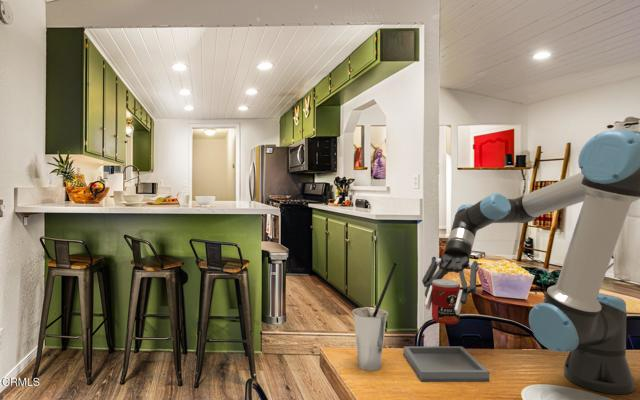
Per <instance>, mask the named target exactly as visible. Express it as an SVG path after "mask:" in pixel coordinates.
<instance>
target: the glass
mask: <svg viewBox="0 0 640 400" xmlns="http://www.w3.org/2000/svg"><path fill="white" fill-rule="evenodd" d="M397 265H398V264H397V263H395V262H393V264H392V267H391V270H390V272H389V274H388V277H387V279H386V282H385V284H384V287H383V290H382V291H381V295H380V297H379V299H378V302H377V304H376V307H369V306H368V307H357V308H354V309H353V310H352V312H351V313H352V314H353V320H354V332H355V342H356V343H355V344H356V355H357V367H358V368H359V369H360V368H361V370H363V371H366V370H367V371H366V372H374V371H375V372H376V371H379V370H380V369H381V368H382V359H383V358H382V357H383V347H384V342H385V334H386V333H385V331H386V323H387V316H388V315H389V311H387V310H385V309H382V308H381V305H382V303H383V301H384V297H385V295H386V293H387V290H388V287H389V286H390V283H391V280H392V277H393V275H394V273H395V270H396V268H397Z"/></svg>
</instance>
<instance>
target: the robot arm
mask: <svg viewBox="0 0 640 400" xmlns="http://www.w3.org/2000/svg"><path fill="white" fill-rule="evenodd" d="M579 152H580V153H579V155H578V168H579V169H580V172H578V173H576V174H574V175H571V176H569V177H566V178H564V179H561V180H559V181H556V182H553V183H551V184H549V185H546V186H544V187H540V188H538V189H536V190H533V191H531V192H528V193H526V194H524V195H521V196H519V197H515V198H507V197H506V196H505V195H503V194H502V193H499V192H496V193H492V194H490V195H487V196H485V197H483V198H482V199H481V200H479V201H478V202H477V203H475V204H470V203H467V204H462V205H460V206H459V207H458V209H457V211H456V212H455V215H454V219H453V223H452V225H451V230H450V232H449V236H448V238H447V243H446V245H445V249H444V253H443V255H442V256H441V257H440V258H437V257H436V256H432V257H431V263H430V265H429V266H428V269H427V270H426V273H425V275H424V276H423V278H422V281H421V282H422V284H423V287H425V288H426V289H425V291H424V296H425V298H426V299H425V301H424V306H425V308H426V310H428V311H430V310H431V307H432V281H433V280H437V279H443V278H444V277H445V275H448V273H456V274H458V275H459V279H460V284H461V288H462V289H460V290H459V294H458V297H457V301H456V305H455V309H454V310H455V312H456V315H459V314H461V310H462V307H463V306H462V305H465V304H466V303H467V299H468V297H469V295H470V294H472V295H475V294H476V293H477V272H478V270H479V268H480V267H479V263H478V261H477V260H473V261H471V260H470V258H471V254H472V249H473V246H474V242H475V238H476V235H477V232H478V231H479V230H481V229H484V228H485V227H487V226H489V225H492V224H506V223H507V224H508V223H509V224H510V223H511V224H513V223H514V224H515V223H516V224H524V223H526V224H527V223H531V222H533V221H535V220H536V218H538V217H540V216H543V215H546V214H549V213H552V212H555V211H558V210H562V209H565V208H568V207H571V206H575V205H576V204H580V203H582V202H583V203H582V205H581V208H580V212H579V214H578V217H577V221H576V224H575V227H574V230H573V233H572V236H571V238H570V242H569V245H568V247H567V251H566V254H565V257H564V259H563V264H562V267H561V269H560V272H559V276H558V278H557V281H556V284H554V285H551V286H549V287H547V288H546V289H547V290H546V292H545V295H544V299H543V301H542V302H540V303H537V304H535V305H534V306H533V307H532V308H531V309H530V311H529V315H528V323H529V328H530V331H532V334H533V336H534V338H536V340H537V341H538V342H539V344H541V345H542V346H544V347H545V348H547V349H548V350H550V351H553V352H557V353H562V352H563V353H564V352H566V353H567V352H568V355H567V358H566V360H565V363H564V364H563V375H564V377H565V378H566V379H567V380H569V381H570V382H571V383H573V384H575V385H577V386H579V387H582V388H585V389H586V390H587V389H588V390H591V391H595V392H598V393H605V394H610V395H611V394H612V395H628V394H631V393H633V392H634V390H635V381H634V380H635V379H634V377H633V374H632V372H631V368H630V365H629V363H628V360H627V355H626V353H627V351H626V350H627V317H628V311H627V304H626V301H625V300H624V299H623V298H622V297H618V296H615V295H612V294H611V295H610V294H606V293H601V292H600V290H601V288H602V285H603V282H604V279H605V277H606V273H607V271H608V268H609V265H610V262H611V259H612V257H613V254H614V252H615V249H616V247H617V244H618V240H619V238H620V235H621V232H622V229H623V227H624V223H625V220H626V219H627V216H628V213H629V211H630V210H629V209H630V207H631V204H632V203H634V202H636V201H638V200H640V131H633V130H630V129H608V130H605V131H602V132H599V133H597V134H596V135H594V136H592V137H590V139H589V140H587V141H586V142H585V144H584V145H583V146H582V148H581V150H580V151H579ZM441 263H442V264H441ZM440 264H441V265H440ZM439 266H440V268H439V269H438V267H439ZM468 267H469V269H470V275H469V286H468V284H467V280H466V277H465V273H464V270H465V269H467V268H468ZM437 269H438V270H437Z"/></svg>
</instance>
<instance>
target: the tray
mask: <svg viewBox="0 0 640 400" xmlns="http://www.w3.org/2000/svg"><path fill="white" fill-rule="evenodd" d="M403 356H404V358H405V359H406V361H407V362H408V364H409V365H410V367H411V369H412V370H413V371H414V373H415V374H416V377H417V378H418V379H419V381H420V382H421V383H436V382H437V383H438V382H439V383H440V382H442V383H446V382H447V383H448V382H449V383H451V382H453V383H454V382H458V383H460V382H461V383H463V382H464V383H465V382H467V383H468V382H481V383H482V382H490V371H489V370H488V369H487V368H486V367H485V366H484V365H483V364H481V363H480V362H479V361H478V360H477V359H476V358H475V357H474V355H472V354H471V353H469V351H467V350H466V349H465V347H464V346H453V345H452V346H450V345H449V346H448V345H447V346H443V345H442V346H440V345H439V346H434V345H433V346H428V345H427V346H403Z"/></svg>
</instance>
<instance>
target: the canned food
mask: <svg viewBox="0 0 640 400" xmlns="http://www.w3.org/2000/svg"><path fill="white" fill-rule="evenodd" d="M459 290H461V282H459V281H457V280H453V279H446V278H444V279H443V278H442V279H437V280H433V281H432V303H431V318H432V320H433V321H434V322H436V323H438V324H443V325H456V324H458V323H459V322H460V319H461V318H460V314H461V313H460V314H459V315H456V312H455V310H454V309H455V305H456V301H457V297H458V294H459Z"/></svg>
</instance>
